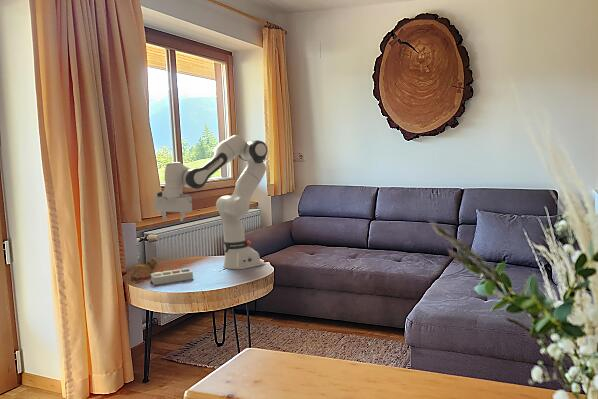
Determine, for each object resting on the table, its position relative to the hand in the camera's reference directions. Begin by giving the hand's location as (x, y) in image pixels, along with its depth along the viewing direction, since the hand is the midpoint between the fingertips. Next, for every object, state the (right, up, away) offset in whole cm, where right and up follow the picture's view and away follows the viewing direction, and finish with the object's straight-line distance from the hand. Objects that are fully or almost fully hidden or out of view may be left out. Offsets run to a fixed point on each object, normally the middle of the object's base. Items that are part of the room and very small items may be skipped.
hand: (173, 220), depth 262 cm
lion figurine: (-17, -30, +10) cm, 36 cm away
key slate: (+6, -27, -1) cm, 28 cm away
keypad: (0, -30, -4) cm, 30 cm away
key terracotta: (+2, -28, -3) cm, 28 cm away
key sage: (-2, -28, -5) cm, 29 cm away
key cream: (-6, -29, -7) cm, 30 cm away
